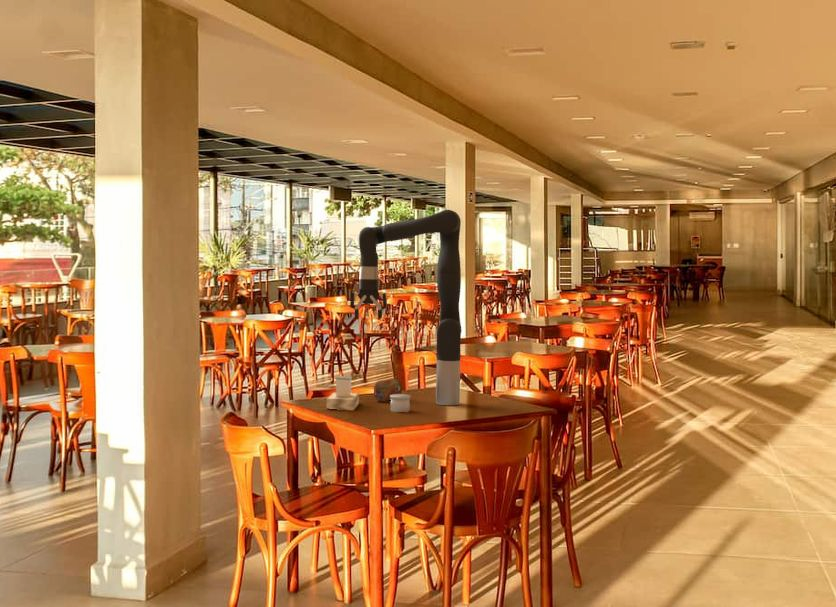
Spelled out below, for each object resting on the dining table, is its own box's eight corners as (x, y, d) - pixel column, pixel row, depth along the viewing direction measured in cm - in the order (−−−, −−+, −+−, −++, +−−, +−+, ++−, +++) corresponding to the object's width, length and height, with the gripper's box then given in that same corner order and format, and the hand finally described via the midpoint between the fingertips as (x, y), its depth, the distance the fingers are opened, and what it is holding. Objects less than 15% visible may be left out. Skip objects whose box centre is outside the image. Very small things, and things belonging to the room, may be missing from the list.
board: (358, 403, 360) (358, 393, 360) (353, 410, 344) (353, 399, 344) (333, 402, 361) (333, 392, 361) (326, 409, 345) (326, 398, 345)
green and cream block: (351, 395, 355) (351, 376, 355) (349, 397, 350) (350, 378, 349) (337, 394, 355) (337, 376, 355) (335, 396, 350) (335, 377, 350)
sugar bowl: (410, 409, 349) (411, 394, 349) (409, 413, 341) (409, 397, 341) (390, 409, 349) (390, 393, 349) (388, 412, 342) (389, 396, 342)
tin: (378, 402, 364) (378, 381, 363) (372, 402, 366) (372, 380, 365) (402, 398, 376) (402, 377, 375) (396, 397, 378) (396, 377, 377)
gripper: (387, 278, 371) (387, 319, 372) (352, 277, 372) (351, 318, 373) (386, 278, 364) (385, 320, 364) (349, 278, 364) (349, 319, 365)
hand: (368, 319), depth 369 cm, fingers open, 8 cm apart
